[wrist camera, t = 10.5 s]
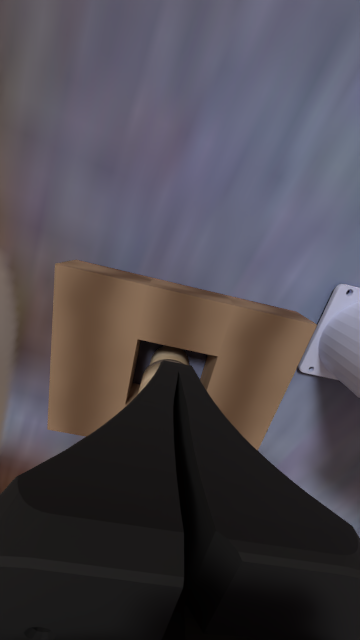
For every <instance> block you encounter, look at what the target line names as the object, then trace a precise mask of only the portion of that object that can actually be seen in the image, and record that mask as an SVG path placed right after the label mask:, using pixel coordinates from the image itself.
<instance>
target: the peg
mask: <svg viewBox="0 0 360 640" xmlns="http://www.w3.org/2000/svg"><path fill="white" fill-rule="evenodd" d="M163 360H165V361H170V362H175V363H181V364H186V365H189V359H188V356H187V354H186V353H185V352H184V351H183V350H182V349H180V348H176V347H171V346H163V347H161V348H159V349H157V350H156V351H155V352H154V354H153V356H152V358H151V362H150V365H149V366H148V367H147V368H146V369H145V371H144V373H143V375H142V379H141V385H140V388H139V392H138V394H139V393H140V392H141V390H142V389H143V388H144V387H145V386H146V385H147V383H148V382H149V381H150V380H151V378H152V377H153V376H154V374H155V373H156V371H157V369H158V368H159V366H160V363H161V362H162V361H163Z"/></svg>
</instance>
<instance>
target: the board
mask: <svg viewBox="0 0 360 640" xmlns="http://www.w3.org/2000/svg"><path fill="white" fill-rule="evenodd" d="M316 326H317V324H315V323H314V322H312V321H310V320H309V319H307V318H306V317H304V316H302V315H301V314H299V313H298V312H295V311H291V310H287V309H282V308H278V307H274V306H270V305H265V304H261V303H257V302H253V301H249V300H244V299H240V298H236V297H232V296H227V295H223V294H219V293H215V292H210V291H206V290H202V289H198V288H193V287H189V286H185V285H181V284H177V283H172V282H168V281H164V280H160V279H155V278H151V277H147V276H143V275H138V274H134V273H130V272H126V271H121V270H117V269H113V268H109V267H105V266H100V265H96V264H92V263H88V262H83V261H79V260H72V261H67V262H62V263H56V264H55V281H54V302H53V323H52V344H51V365H50V386H49V408H48V430H54V431H59V432H65V433H70V434H76V435H81V436H88V435H90V434H91V433H93V432H94V431H96V430H97V429H98V428H100V427H101V426H103V425H104V424H105V423H106V422H108V421H109V420H110V419H112V418H113V417H114V416H115V415H117V414H118V413H119V412H120V411H121V410H122V409H123V408H125V407H126V406H127V405H128V404H129V403H130V402H131V401H132V400H133V399H134V398H135V397H136V396H137V395H138V392H139V388H140V384H135V383H133V379H134V374H135V368H136V363H137V358H138V353H139V348H140V343H141V340H143V341H148V342H153V343H157V344H162V345H167V346H171V347H176V348H180V349H185V350H190V351H194V352H199V353H204V354H208V356H207V359H206V362H205V366H204V369H203V372H202V375H201V378H200V381H201V383H202V384H203V386H204V387H205V389H206V391H207V392H208V394H209V395H210V397H211V398H212V400H213V401H214V402H215V404H216V405H217V406H218V408H219V409H220V410H221V412H222V413H223V414H224V415H225V417H226V418H227V419H228V420H229V421H230V423H231V424H232V425H233V426H234V427H235V428H236V429H237V430H238V431H239V433H240V434H241V435H242V436H243V437H244V438H245V439H246V440H247V441H248V442H249V443H250V444H251V445H252V446H253V447H254V448H255V449H256V450H257V451H258V449H259V447H260V445H261V442H262V440H263V438H264V436H265V434H266V432H267V430H268V428H269V426H270V423H271V421H272V419H273V417H274V415H275V413H276V411H277V409H278V407H279V404H280V402H281V400H282V398H283V396H284V394H285V392H286V390H287V388H288V385H289V383H290V381H291V379H292V377H293V375H294V373H295V371H296V369H297V366H298V364H299V362H300V360H301V358H302V356H303V354H304V352H305V350H306V347H307V345H308V343H309V341H310V339H311V337H312V335H313V333H314V331H315V328H316Z"/></svg>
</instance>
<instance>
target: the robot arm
mask: <svg viewBox="0 0 360 640" xmlns="http://www.w3.org/2000/svg"><path fill="white" fill-rule="evenodd" d="M348 290H350V291H349V293H348V294H347V295H346V292H347V291H348ZM309 367H312V368H311V369H309ZM298 368H299V370H300V371H301V372H303V373H307V374H312V375H316V376H321V377H326V378H330V379H335V380H340V381H341V382H342V383H343V384H344V385H345V386H346V387H347V388H348V389H350V390H351V391H352V392H353V393H354V394H355V395H356V396H357V397H359V398H360V288H358V287H354V286H350V285H346V284H339V285H338V286H336V288H335V289H334V291H333V293H332V296H331V298H330V300H329V302H328V304H327V306H326V308H325V310H324V312H323V315H322V317H321V319H320V321H319V323H318V325H317V327H316V329H315V331H314V334H313V336H312V338H311V340H310V342H309V344H308V346H307V348H306V350H305V352H304V355H303V357H302V359H301V361H300V363H299V365H298ZM0 640H360V538H359V536H358V535H357V533H356V532H355V530H354V528H353V527H352V526H351V525H350V524H349V523H347V522H346V521H345V520H343V519H342V518H340V517H339V516H338V515H336V514H335V513H334V512H332V511H331V510H330V509H328V508H327V507H325V506H324V505H323V504H321V503H320V502H319V501H317V500H316V499H315V498H313V497H312V496H310V495H309V494H308V493H306V492H305V491H304V490H303V489H301V488H300V487H299V486H298V485H296V484H295V483H294V482H293V481H292V480H290V479H289V478H288V477H287V476H285V475H284V474H283V473H282V472H281V471H279V470H278V469H277V468H276V467H275V466H274V465H273V464H271V463H270V462H269V461H268V460H267V459H266V458H265V457H264V456H263V455H262V454H261V453H259V452H258V451H257V450H256V449H255V448H254V447H253V446H252V445H251V444H250V443H249V442H248V441H247V440H246V439H245V438H244V437H243V436H242V435H241V434H240V433H239V431H238V430H237V429H236V428H235V427H234V426H233V425H232V424H231V423H230V421H229V420H228V419H227V418H226V417H225V415H224V414H223V413H222V412H221V410H220V409H219V408H218V406H217V405H216V404H215V402H214V401H213V400H212V398H211V397H210V395H209V394H208V392H207V391H206V389H205V387H204V386H203V384H202V383H201V381H200V379H199V378H198V376H197V374H196V372H195V371H194V369H193V367H192V366H191V365H186V364H181V363H175V362H170V361H165V360H163V361H162V362H161V363H160V366H159V368H158V369H157V371H156V373H155V374H154V376H153V377H152V378H151V380H150V381H149V382H148V383H147V385H146V386H145V387H144V388H143V389H142V390H141V392H140V393H139V394H138V395H137V396H136V397H135V398H134V399H133V400H132V401H131V402H130V403H129V404H128V405H127V406H126V407H125V408H123V409H122V410H121V411H120V412H119V413H118V414H117V415H115V416H114V417H113V418H112V419H110V420H109V421H108V422H106V423H105V424H104V425H103V426H101V427H100V428H98V429H97V430H96V431H94V432H93V433H91V434H90V435H88V436H87V437H85V438H83V439H82V440H80V441H79V442H77V443H76V444H74V445H73V446H71V447H70V448H68V449H66V450H65V451H63V452H61V453H60V454H58V455H56V456H54V457H52V458H50V459H49V460H47V461H45V462H43V463H41V464H39V465H38V466H36V467H34V468H32V469H30V470H28V471H27V472H25V473H23V474H21V475H19V476H17V477H16V478H15V479H14V480H13V481H12V482H11V483H10V484H9V485H8V487H7V488H6V489H5V490H4V491H3V492H2V493H1V494H0Z"/></svg>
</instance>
